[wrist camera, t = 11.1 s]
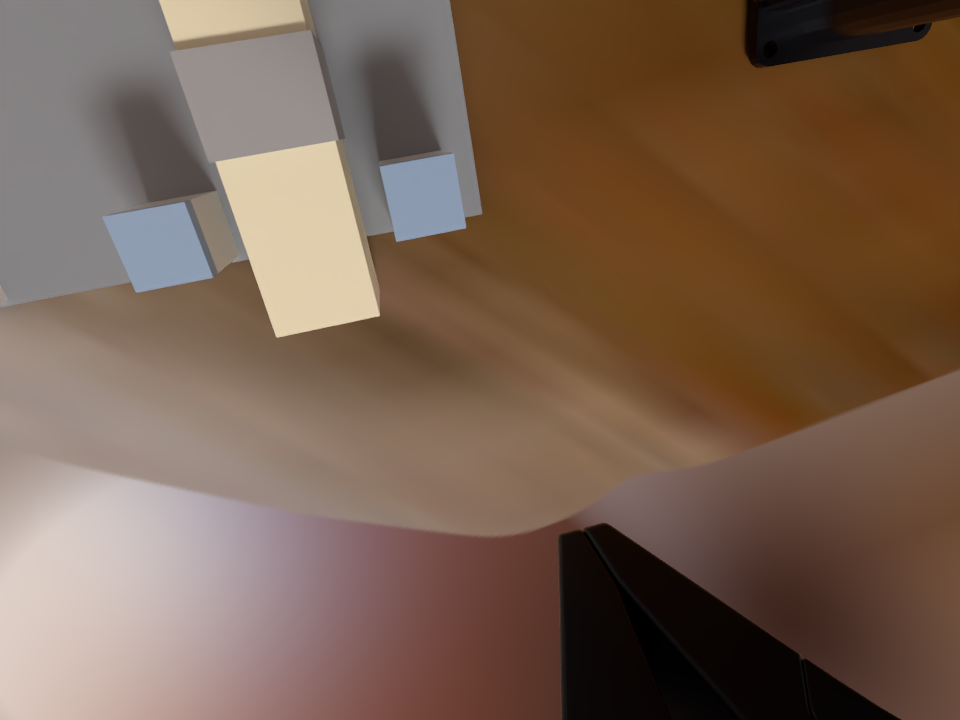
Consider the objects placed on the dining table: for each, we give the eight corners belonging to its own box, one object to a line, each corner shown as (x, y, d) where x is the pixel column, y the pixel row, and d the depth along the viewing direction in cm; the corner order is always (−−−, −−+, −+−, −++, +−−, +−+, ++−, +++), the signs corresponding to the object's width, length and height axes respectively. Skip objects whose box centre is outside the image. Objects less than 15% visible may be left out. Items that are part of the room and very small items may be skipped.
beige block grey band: (269, -170, 13) (239, -256, 10) (382, 288, 18) (383, 317, 15) (136, -154, 13) (67, -238, 10) (288, 307, 18) (271, 340, 15)
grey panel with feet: (416, -198, 14) (428, -296, 11) (479, 212, 18) (501, 228, 15) (-310, -116, 12) (-552, -204, 9) (-46, 313, 17) (-146, 356, 13)
